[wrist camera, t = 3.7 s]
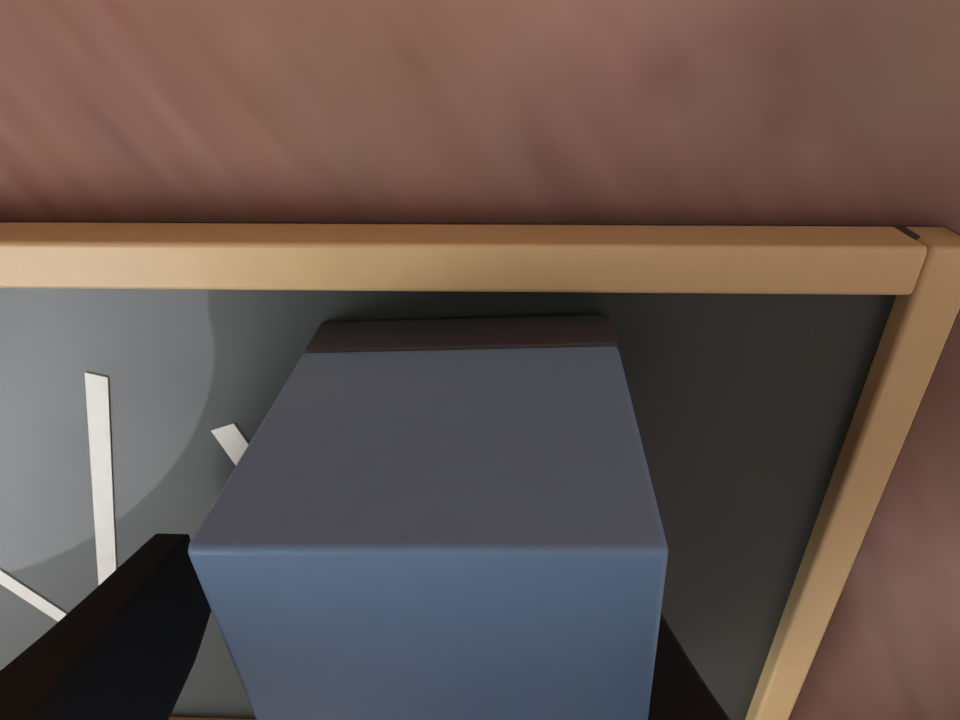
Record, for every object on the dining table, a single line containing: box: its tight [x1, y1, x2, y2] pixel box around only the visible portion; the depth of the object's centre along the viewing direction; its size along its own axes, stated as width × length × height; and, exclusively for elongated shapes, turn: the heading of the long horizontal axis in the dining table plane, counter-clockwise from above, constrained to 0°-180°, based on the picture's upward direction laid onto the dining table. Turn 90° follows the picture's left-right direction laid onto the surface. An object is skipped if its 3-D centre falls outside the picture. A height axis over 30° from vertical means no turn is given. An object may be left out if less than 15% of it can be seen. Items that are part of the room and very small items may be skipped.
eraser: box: [188, 315, 669, 720], centre depth 11 cm, size 10×5×5 cm, turn 3°
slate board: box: [0, 222, 960, 720], centre depth 14 cm, size 14×26×1 cm, turn 90°
